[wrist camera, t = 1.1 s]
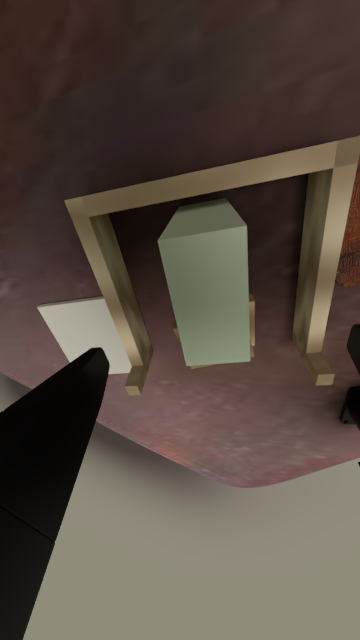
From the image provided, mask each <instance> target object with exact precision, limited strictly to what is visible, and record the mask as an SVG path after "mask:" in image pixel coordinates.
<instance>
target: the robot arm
mask: <svg viewBox="0 0 360 640" xmlns="http://www.w3.org/2000/svg"><path fill="white" fill-rule="evenodd" d="M347 349H348V352H349V354H350V356H351V358H352V360H353V362H354V364H355V366H356V368H357V370H358V373H359V375H360V324H355V325H353V326H352V328H351V331H350V335H349V338H348V342H347ZM109 368H110V364H109V361H108V358H107V356H106V354H105V352H104V350H103V349H102V348H101V347H95V348H90V349H89V350H87V351H86V352H85V353H83V354H82V355H80V356H79V357H78V358H76V359H75V360H73V361H72V362H71V363H69V364H68V365H66V366H65V367H64V368H62V369H61V370H59V371H58V372H57V373H55V374H54V375H52V376H51V377H50V378H48V379H47V380H45V381H44V382H43V383H41V384H40V385H38V386H37V387H36V388H34V389H33V390H31V391H30V392H29V393H27V394H26V395H24V396H23V397H22V398H20V399H19V400H18V401H16V402H15V403H13V404H12V405H10V406H9V407H8V408H6V409H5V410H4V411H2V412H0V640H23V637H24V634H25V631H26V628H27V625H28V622H29V619H30V616H31V613H32V610H33V607H34V604H35V601H36V598H37V595H38V592H39V589H40V586H41V584H42V581H43V577H44V574H45V572H46V569H47V565H48V563H49V559H50V556H51V554H52V551H53V547H54V545H55V542H54V541H56V538H57V535H58V532H59V529H60V526H61V523H62V520H63V517H64V514H65V511H66V508H67V505H68V502H69V499H70V496H71V493H72V490H73V487H74V484H75V482H76V479H77V476H78V472H79V469H80V467H81V463H82V461H83V458H84V454H85V452H86V449H87V446H88V443H89V440H90V436H91V433H92V431H93V428H94V425H95V422H96V419H97V416H98V413H99V410H100V407H101V403H102V400H103V396H104V391H105V387H106V382H107V378H108V373H109ZM340 421H341V423H342V424H356V425H357V427H358V429H359V430H360V387H355V388H351V389H350V390H349V392H348V395H347V398H346V402H345V405H344V408H343V411H342V414H341V417H340ZM358 463H359V466H360V462H358Z"/></svg>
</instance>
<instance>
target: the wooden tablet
mask: <svg viewBox="0 0 360 640" xmlns="http://www.w3.org/2000/svg"><path fill="white" fill-rule="evenodd" d="M335 281H336V282H337V283H338V285H342V286H343V287H353V286H358V285H360V157H359V160H358V165H357V170H356V175H355V180H354V185H353V191H352V196H351V201H350V206H349V211H348V216H347V221H346V227H345V232H344V237H343V242H342V247H341V252H340V258H339V263H338V268H337V273H336V278H335Z"/></svg>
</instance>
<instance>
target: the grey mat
mask: <svg viewBox="0 0 360 640" xmlns="http://www.w3.org/2000/svg"><path fill="white" fill-rule="evenodd" d="M37 308H38V310H39V311H40V313H41V315H42V316H43V318H44V320H45V321H46V323H47V325H48V326H49V328H50V330H51V331H52V333H53V335H54V336H55V338H56V340H57V342H58V343H59V345H60V347H61V348H62V350H63V352H64V353H65V355H66V357H67V358H68V360H69V362H70V363H71V362H72V361H73V360H75V359H76V358H78V357H79V356H80V355H82V354H83V353H85V352H86V351H87V350H89V349H90V348H95V347H101V348H102V349H103V350H104V352H105V354H106V356H107V358H108V361H109V364H110V368H109V373H108V374H118V373H130V370H131V368H132V366H131V363H130V361H129V358H128V356H127V353H126V351H125V348H124V346H123V344H122V341H121V339H120V336H119V334H118V331H117V329H116V326H115V324H114V321H113V319H112V317H111V314H110V312H109V309H108V307H107V304H106V302H105V299H104V297H103V296H100V297H93V298H85V299H78V300H70V301H63V302H56V303H48V304H41V305H39V306H38V307H37Z"/></svg>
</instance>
